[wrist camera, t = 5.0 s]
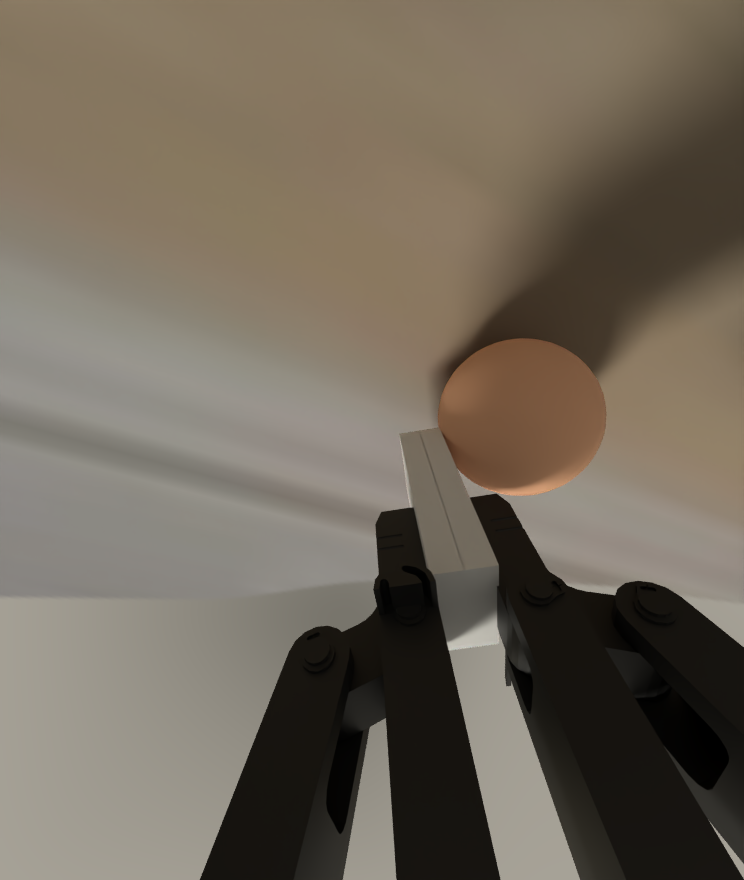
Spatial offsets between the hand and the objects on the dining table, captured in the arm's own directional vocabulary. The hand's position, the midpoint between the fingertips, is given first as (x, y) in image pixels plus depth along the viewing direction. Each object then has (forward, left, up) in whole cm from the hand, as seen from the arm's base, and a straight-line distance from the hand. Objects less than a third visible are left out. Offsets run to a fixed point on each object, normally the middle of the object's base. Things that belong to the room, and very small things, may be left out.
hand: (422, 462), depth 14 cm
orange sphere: (+4, +1, 0) cm, 4 cm away
